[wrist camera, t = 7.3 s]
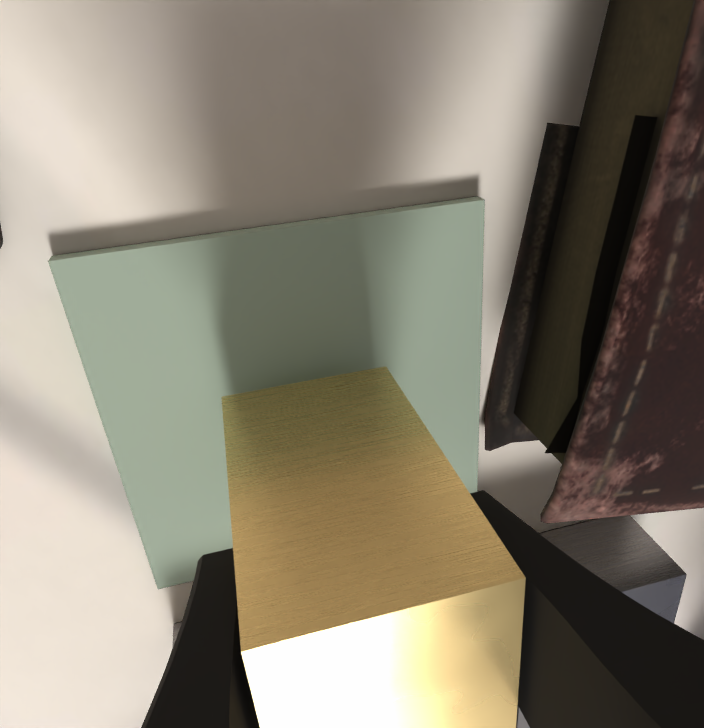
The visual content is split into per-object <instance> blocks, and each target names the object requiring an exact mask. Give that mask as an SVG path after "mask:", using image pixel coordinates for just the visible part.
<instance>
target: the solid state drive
mask: <svg viewBox="0 0 704 728" xmlns="http://www.w3.org/2000/svg"><path fill="white" fill-rule="evenodd" d="M2 244H3V237H2V231H1V225H0V248H1V247H2Z"/></svg>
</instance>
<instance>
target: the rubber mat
mask: <svg viewBox="0 0 704 728" xmlns="http://www.w3.org/2000/svg"><path fill="white" fill-rule="evenodd" d="M484 206H485V200H484V199H482V198H480V197H470V198H463V199H456V200H449V201H442V202H435V203H427V204H420V205H413V206H406V207H399V208H392V209H384V210H377V211H370V212H363V213H356V214H349V215H341V216H334V217H327V218H320V219H313V220H306V221H298V222H291V223H284V224H277V225H270V226H263V227H255V228H248V229H241V230H234V231H227V232H220V233H213V234H205V235H198V236H191V237H184V238H177V239H170V240H162V241H155V242H148V243H141V244H134V245H127V246H119V247H112V248H105V249H98V250H91V251H84V252H76V253H69V254H62V255H55V256H52V257H51V258H50V259H49V261H48V262H49V265H50V268H51V271H52V274H53V277H54V280H55V283H56V286H57V289H58V292H59V295H60V298H61V301H62V304H63V307H64V310H65V313H66V316H67V319H68V322H69V325H70V328H71V331H72V334H73V337H74V340H75V343H76V346H77V349H78V352H79V355H80V358H81V361H82V364H83V367H84V370H85V373H86V376H87V379H88V382H89V385H90V388H91V391H92V394H93V397H94V400H95V403H96V406H97V409H98V412H99V415H100V418H101V421H102V424H103V427H104V430H105V433H106V435H107V438H108V441H109V444H110V447H111V450H112V453H113V456H114V459H115V462H116V465H117V468H118V471H119V474H120V477H121V480H122V483H123V486H124V489H125V492H126V495H127V498H128V501H129V504H130V507H131V510H132V513H133V516H134V519H135V522H136V525H137V528H138V531H139V534H140V537H141V540H142V543H143V546H144V549H145V552H146V555H147V558H148V561H149V564H150V567H151V570H152V573H153V576H154V579H155V582H156V585H157V588H158V589H161V588H166V587H170V586H174V585H178V584H182V583H187V582H191V581H194V577H195V573H196V568H197V563H198V560H199V559H200V558H201V557H202V555H204V554H209V553H213V552H217V551H222V550H226V549H230V548H233V541H232V528H231V515H230V502H229V489H228V476H227V463H226V450H225V437H224V424H223V411H222V398H221V397H223V396H229V395H234V394H239V393H245V392H250V391H255V390H261V389H266V388H271V387H277V386H282V385H288V384H293V383H298V382H304V381H309V380H314V379H320V378H325V377H330V376H336V375H341V374H346V373H352V372H357V371H362V370H368V369H373V368H379V367H384V366H386V367H387V368H388V370H389V371H390V373H391V375H392V376H393V378H394V379H395V381H396V382H397V384H398V385H399V387H400V388H401V390H402V391H403V393H404V394H405V396H406V397H407V399H408V400H409V402H410V403H411V405H412V406H413V408H414V409H415V411H416V412H417V414H418V415H419V417H420V418H421V420H422V421H423V423H424V425H425V426H426V428H427V429H428V431H429V432H430V434H431V435H432V437H433V438H434V440H435V441H436V443H437V444H438V446H439V447H440V449H441V450H442V452H443V453H444V455H445V456H446V458H447V459H448V461H449V462H450V464H451V465H452V467H453V468H454V470H455V471H456V473H457V474H458V476H459V478H460V479H461V481H462V482H463V484H464V485H465V487H466V488H467V490H468V491H469V493H474V492H477V483H478V443H479V404H480V364H481V325H482V285H483V246H484Z"/></svg>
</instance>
